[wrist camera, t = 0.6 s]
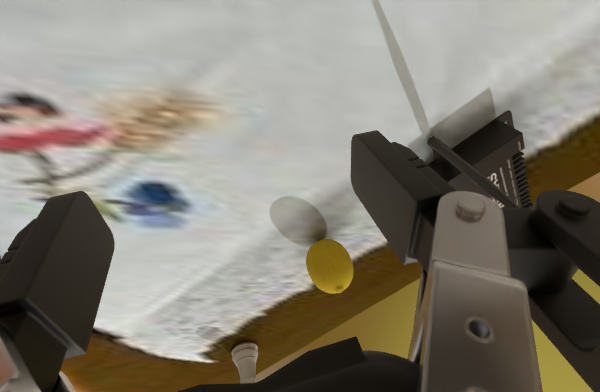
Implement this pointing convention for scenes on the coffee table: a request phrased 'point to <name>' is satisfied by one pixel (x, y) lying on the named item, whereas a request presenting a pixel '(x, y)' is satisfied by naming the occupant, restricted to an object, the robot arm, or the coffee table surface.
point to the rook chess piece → (246, 361)
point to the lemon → (329, 266)
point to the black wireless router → (487, 164)
